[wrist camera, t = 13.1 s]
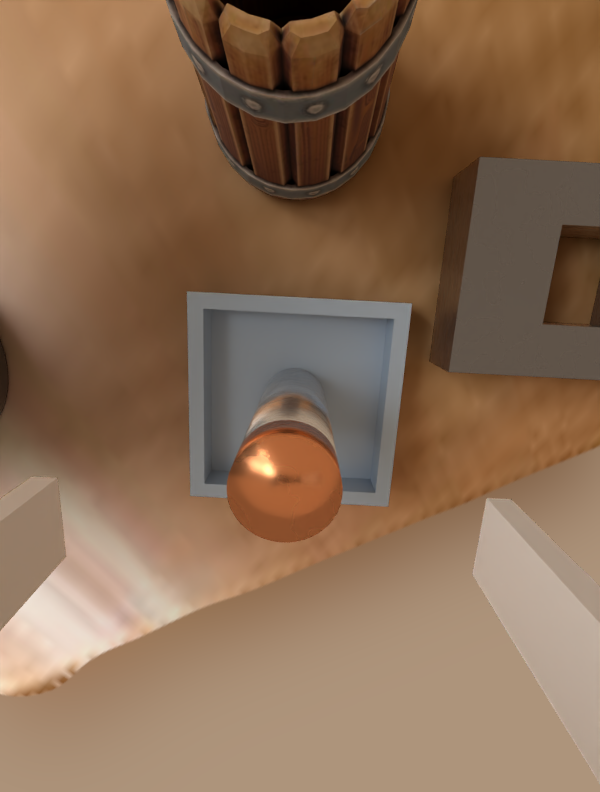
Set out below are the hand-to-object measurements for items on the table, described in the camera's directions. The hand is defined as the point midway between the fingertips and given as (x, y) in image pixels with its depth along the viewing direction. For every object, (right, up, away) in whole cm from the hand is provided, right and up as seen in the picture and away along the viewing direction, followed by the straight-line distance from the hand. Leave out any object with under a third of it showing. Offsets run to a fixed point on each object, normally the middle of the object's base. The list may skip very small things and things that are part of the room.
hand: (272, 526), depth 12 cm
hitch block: (+18, +12, +15) cm, 27 cm away
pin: (0, +4, +16) cm, 17 cm away
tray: (0, +4, +17) cm, 18 cm away
